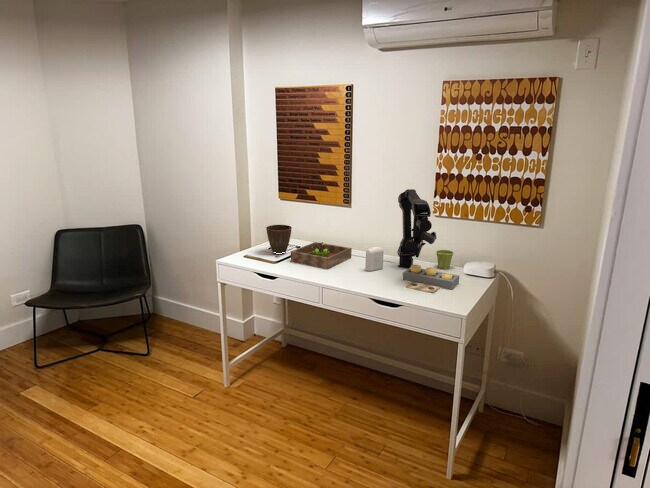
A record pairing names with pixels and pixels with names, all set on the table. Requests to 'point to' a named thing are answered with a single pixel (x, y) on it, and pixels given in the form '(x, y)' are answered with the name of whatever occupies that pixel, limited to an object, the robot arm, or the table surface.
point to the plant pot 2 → (444, 258)
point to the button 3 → (447, 276)
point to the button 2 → (431, 271)
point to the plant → (321, 251)
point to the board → (431, 279)
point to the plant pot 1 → (279, 238)
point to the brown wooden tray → (319, 261)
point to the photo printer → (374, 259)
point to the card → (422, 287)
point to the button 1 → (415, 269)
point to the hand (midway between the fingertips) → (417, 257)
